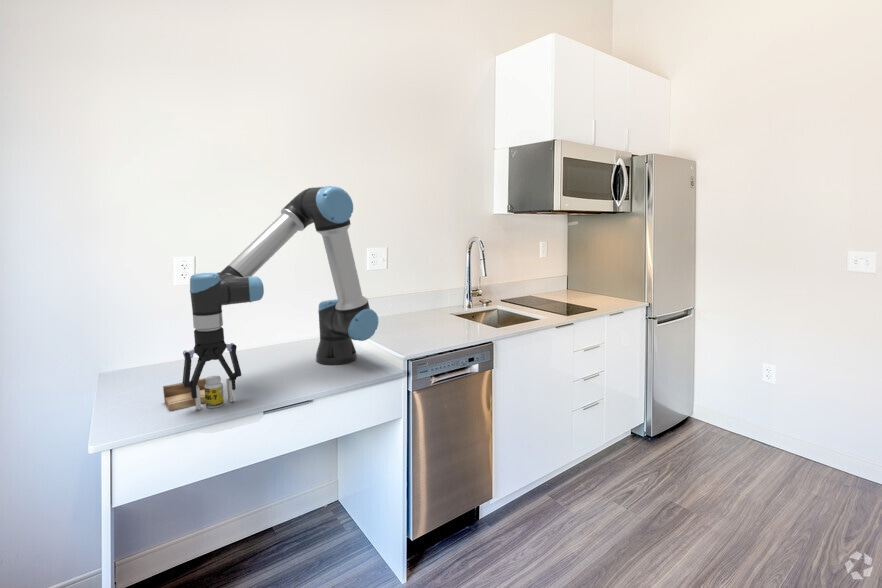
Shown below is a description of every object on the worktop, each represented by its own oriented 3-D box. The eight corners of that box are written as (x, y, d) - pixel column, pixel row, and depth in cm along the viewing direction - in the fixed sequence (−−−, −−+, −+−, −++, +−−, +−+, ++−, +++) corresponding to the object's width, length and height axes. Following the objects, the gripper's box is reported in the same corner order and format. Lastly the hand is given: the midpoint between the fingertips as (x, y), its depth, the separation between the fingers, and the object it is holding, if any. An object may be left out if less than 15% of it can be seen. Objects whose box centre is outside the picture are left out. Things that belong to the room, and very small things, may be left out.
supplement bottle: (202, 408, 136) (200, 380, 134) (211, 401, 140) (208, 374, 139) (218, 408, 135) (216, 380, 134) (227, 402, 140) (224, 374, 139)
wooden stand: (215, 391, 148) (214, 376, 148) (222, 399, 142) (221, 383, 142) (164, 402, 140) (163, 386, 139) (169, 411, 134) (168, 394, 133)
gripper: (242, 320, 143) (247, 392, 147) (164, 331, 130) (172, 409, 134) (250, 325, 138) (255, 399, 141) (169, 336, 125) (177, 418, 128)
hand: (214, 404), depth 138 cm, fingers open, 8 cm apart
